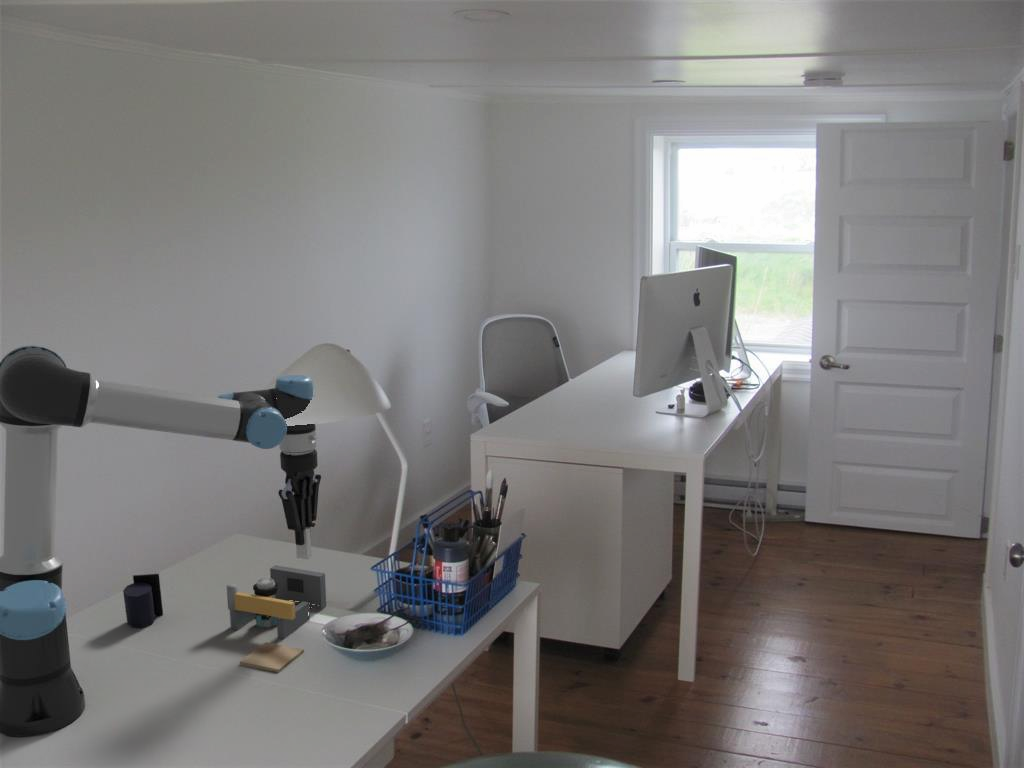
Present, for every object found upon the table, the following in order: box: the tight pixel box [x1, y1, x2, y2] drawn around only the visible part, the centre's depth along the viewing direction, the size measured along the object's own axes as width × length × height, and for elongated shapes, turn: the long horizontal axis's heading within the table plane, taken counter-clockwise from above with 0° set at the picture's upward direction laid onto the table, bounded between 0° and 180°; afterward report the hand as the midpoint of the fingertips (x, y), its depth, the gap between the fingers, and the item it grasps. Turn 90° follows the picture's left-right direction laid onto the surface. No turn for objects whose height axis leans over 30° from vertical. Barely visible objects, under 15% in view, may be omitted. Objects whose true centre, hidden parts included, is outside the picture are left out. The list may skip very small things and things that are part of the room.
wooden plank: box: [226, 583, 296, 620], centre depth 213 cm, size 16×2×5 cm, turn 69°
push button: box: [252, 577, 279, 629], centre depth 217 cm, size 7×5×10 cm
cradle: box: [229, 564, 327, 640], centre depth 221 cm, size 17×14×8 cm
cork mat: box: [239, 641, 305, 673], centre depth 203 cm, size 9×9×1 cm
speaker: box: [122, 573, 164, 629], centre depth 218 cm, size 8×6×10 cm
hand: (304, 557), depth 214 cm, fingers closed
